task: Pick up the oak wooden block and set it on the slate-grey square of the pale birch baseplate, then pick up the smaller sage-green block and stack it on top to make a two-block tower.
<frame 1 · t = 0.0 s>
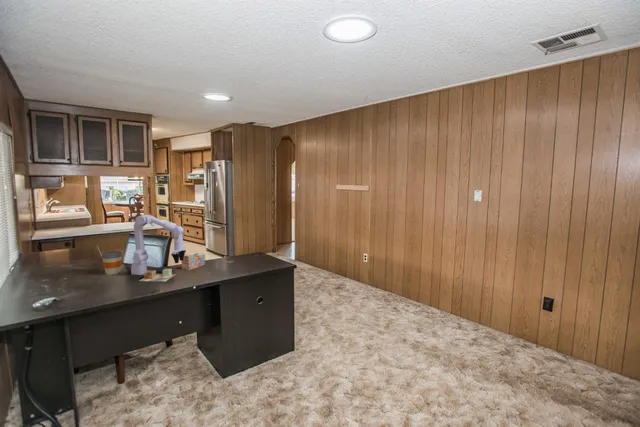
hand: (179, 261, 232), 10 cm above the table, tool pointing down, fingers open, 7 cm apart
sage block: (167, 275, 229), point 1 cm above the table, touching baseplate
reusable coffee cup: (112, 273, 236), on the table
baseplate: (158, 278, 224), on the table
oak block: (150, 277, 223), point 1 cm above the table, touching baseplate
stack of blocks: (193, 267, 254), on the table
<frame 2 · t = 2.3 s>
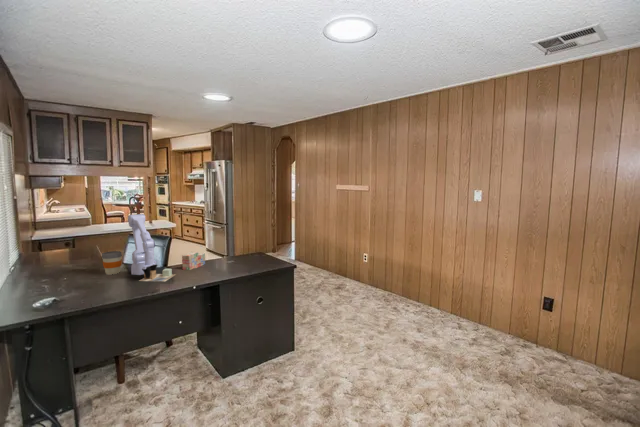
hand: (150, 276, 223), 2 cm above the table, tool pointing down, fingers closed on oak block, 5 cm apart
oak block: (150, 277, 223), point 1 cm above the table, touching baseplate, gripper
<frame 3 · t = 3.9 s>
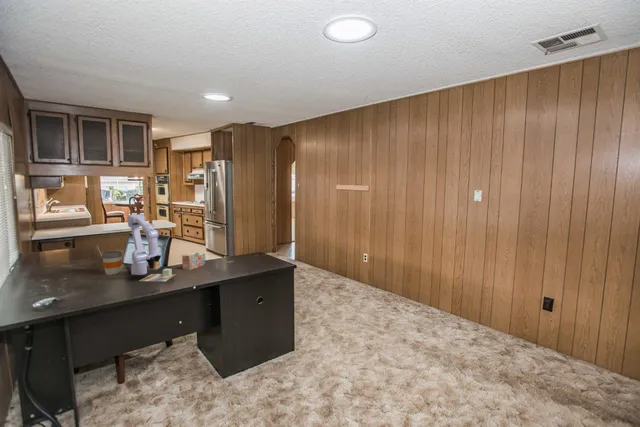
hand: (154, 267, 220), 9 cm above the table, tool pointing down, fingers closed on oak block, 5 cm apart
oak block: (154, 268, 221), point 8 cm above the table, touching gripper
everything else where it was.
when the fingers open (3 cm above the table, at t = 5.7 s): oak block drops 1 cm, resting on baseplate.
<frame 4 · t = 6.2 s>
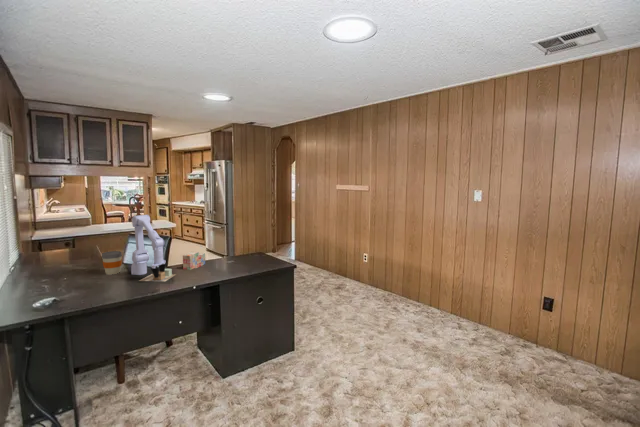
hand: (159, 275, 219), 4 cm above the table, tool pointing down, fingers open, 7 cm apart
oak block: (159, 279, 220), point 1 cm above the table, touching baseplate
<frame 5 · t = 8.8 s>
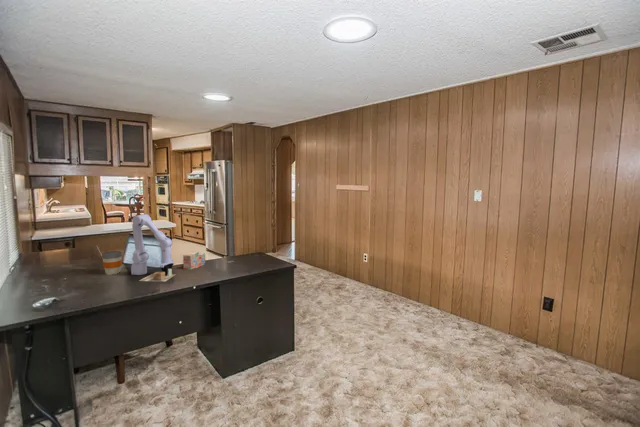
hand: (167, 274, 229), 2 cm above the table, tool pointing down, fingers closed on sage block, 4 cm apart
sage block: (167, 275, 229), point 1 cm above the table, touching baseplate, gripper
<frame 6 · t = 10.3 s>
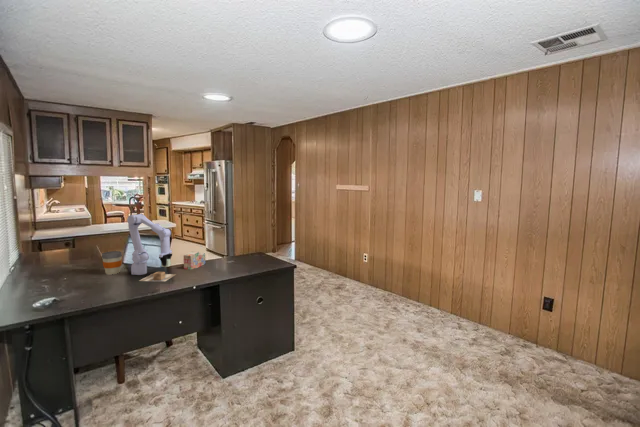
hand: (166, 264, 227), 9 cm above the table, tool pointing down, fingers closed on sage block, 4 cm apart
sage block: (166, 265, 227), point 8 cm above the table, touching gripper
when the fingers open (7 cm above the table, at t = 11.8 s): sage block stays where it is, resting on oak block.
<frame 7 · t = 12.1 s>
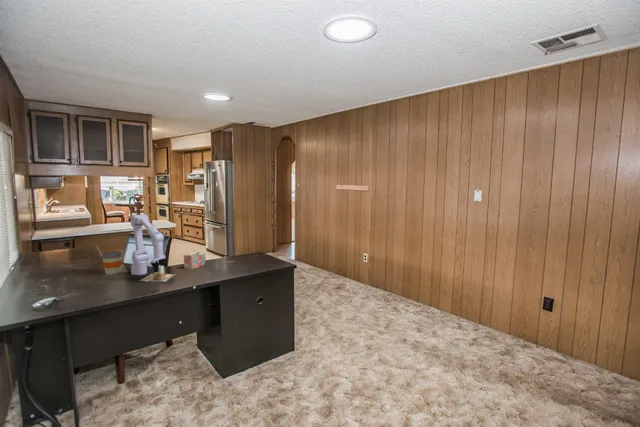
hand: (159, 270, 219), 7 cm above the table, tool pointing down, fingers open, 7 cm apart
sage block: (159, 272, 219), point 6 cm above the table, touching oak block
oak block: (159, 279, 220), point 1 cm above the table, touching baseplate, sage block
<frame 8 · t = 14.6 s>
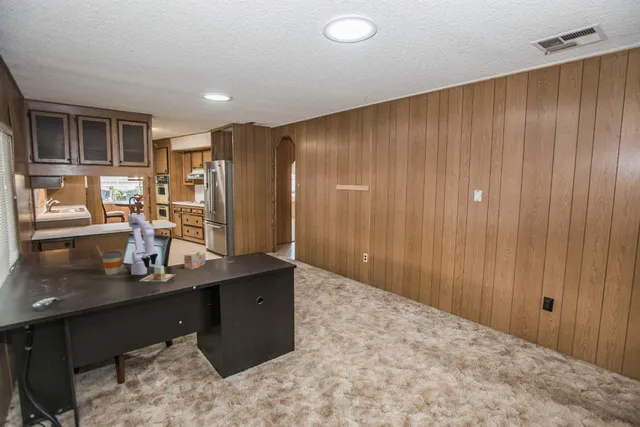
hand: (150, 265, 219), 10 cm above the table, tool pointing down, fingers open, 7 cm apart
at the end: oak block 0.1 cm from the target spot on the baseplate, point 1.1 cm above the baseplate's base; sage block 0.2 cm off-centre on the oak block, point 4.5 cm above the oak block's base; sage block tilted 0° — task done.
